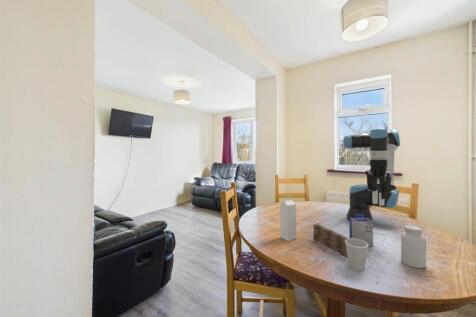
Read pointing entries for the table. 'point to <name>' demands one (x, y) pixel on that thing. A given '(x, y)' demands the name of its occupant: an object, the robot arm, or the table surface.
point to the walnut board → (330, 239)
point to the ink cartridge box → (361, 229)
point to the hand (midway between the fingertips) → (378, 204)
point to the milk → (288, 219)
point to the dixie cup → (356, 253)
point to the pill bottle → (413, 247)
